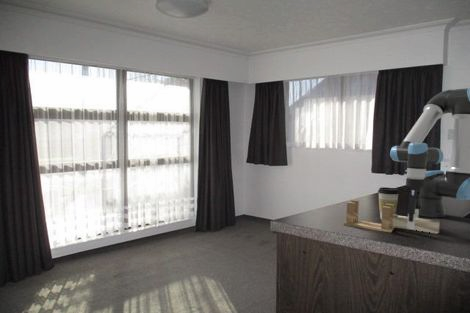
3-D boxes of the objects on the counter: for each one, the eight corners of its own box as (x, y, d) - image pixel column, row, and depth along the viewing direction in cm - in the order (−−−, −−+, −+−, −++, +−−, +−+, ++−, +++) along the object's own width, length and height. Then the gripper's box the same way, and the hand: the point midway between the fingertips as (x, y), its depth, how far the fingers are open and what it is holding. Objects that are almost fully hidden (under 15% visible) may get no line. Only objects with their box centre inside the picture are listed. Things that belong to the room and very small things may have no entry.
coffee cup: (389, 222, 173) (391, 190, 172) (372, 217, 181) (373, 187, 180) (402, 220, 178) (404, 189, 177) (384, 215, 186) (386, 186, 185)
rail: (389, 225, 169) (390, 213, 168) (438, 232, 158) (439, 220, 158) (387, 226, 165) (388, 215, 165) (438, 234, 155) (439, 221, 154)
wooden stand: (349, 221, 173) (350, 199, 172) (394, 228, 162) (395, 204, 162) (343, 225, 166) (344, 202, 165) (390, 232, 155) (392, 208, 154)
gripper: (410, 175, 173) (407, 219, 174) (402, 179, 152) (398, 230, 153) (428, 176, 169) (424, 222, 170) (422, 181, 148) (418, 233, 149)
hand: (412, 225), depth 161 cm, fingers open, 13 cm apart
